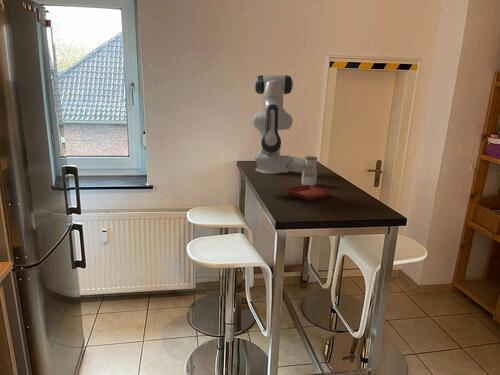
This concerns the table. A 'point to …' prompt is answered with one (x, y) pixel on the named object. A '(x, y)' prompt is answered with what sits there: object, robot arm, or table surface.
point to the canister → (310, 161)
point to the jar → (309, 179)
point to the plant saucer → (308, 192)
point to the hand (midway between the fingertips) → (312, 165)
